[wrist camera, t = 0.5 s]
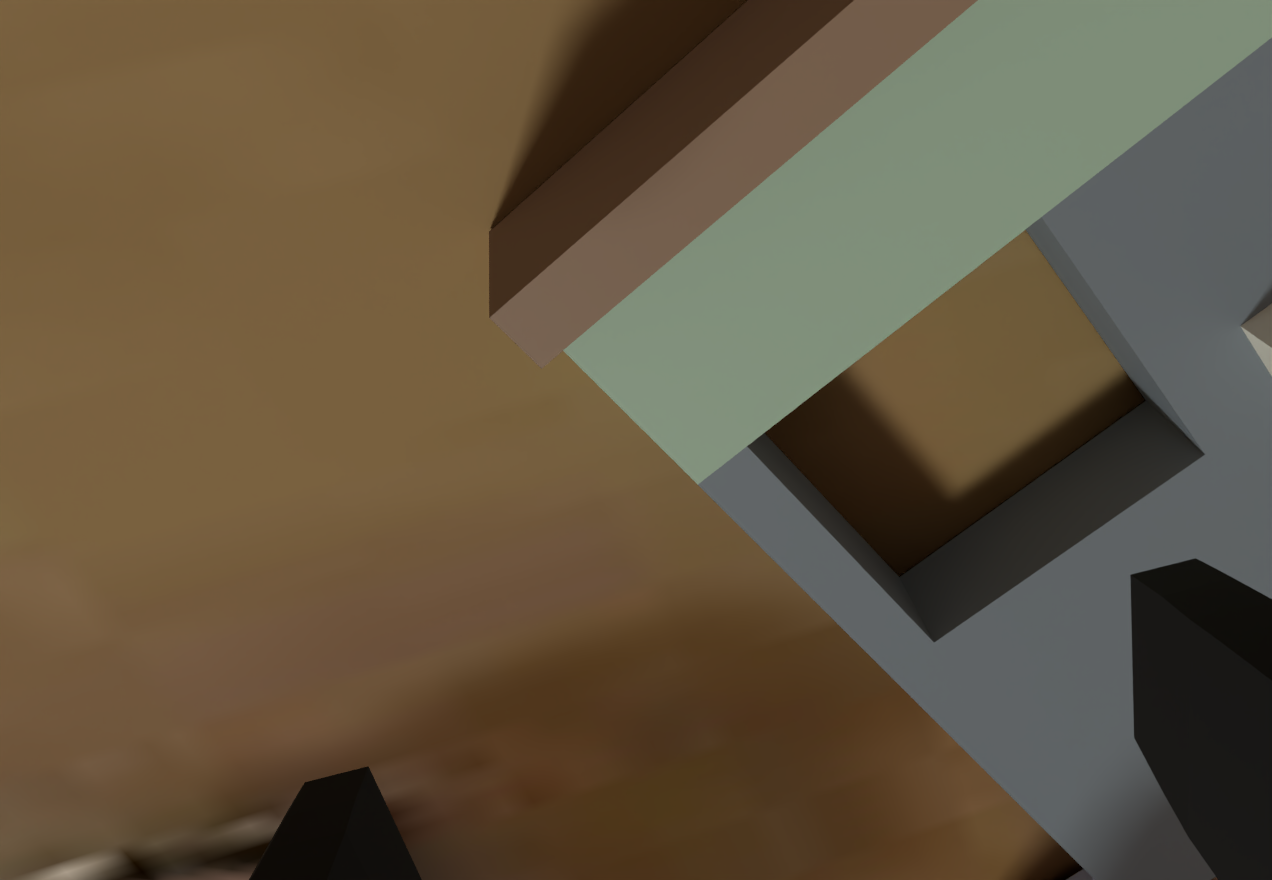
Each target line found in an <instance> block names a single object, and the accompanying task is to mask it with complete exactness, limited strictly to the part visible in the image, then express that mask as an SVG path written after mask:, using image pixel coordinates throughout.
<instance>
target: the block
mask: <svg viewBox="0 0 1272 880" xmlns="http://www.w3.org/2000/svg"><path fill="white" fill-rule="evenodd" d="M1241 328H1242V330H1243V331H1244V333H1245V334H1246V336H1247V338H1248V339H1249V341H1250V342H1251V344H1252V346H1253V347H1254V349H1255V350H1256V352H1257V354H1258V355H1259V357H1260V358H1261V360H1262V362H1263V363H1264V365H1265V366H1266V368H1267V370H1268V371H1269V373H1270V374H1271V376H1272V304H1270V305H1269V306H1268V307H1266V308H1265V309H1263V310H1262V311H1261V312H1259V313H1258V314H1256V315H1255V316H1254V317H1252V318H1251V319H1250V320H1248V321H1247V322H1245V323H1244V324H1243V325H1241Z"/></svg>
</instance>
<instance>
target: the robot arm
mask: <svg viewBox="0 0 1272 880" xmlns="http://www.w3.org/2000/svg"><path fill="white" fill-rule="evenodd" d="M1130 579H1131V624H1132V669H1133V714H1134V739H1135V740H1136V742H1137V744H1138V746H1139V748H1140V750H1141V752H1142V754H1143V756H1144V757H1145V759H1146V761H1147V763H1148V765H1149V767H1150V769H1151V771H1152V772H1153V774H1154V776H1155V778H1156V780H1157V782H1158V784H1159V786H1160V788H1161V789H1162V791H1163V793H1164V795H1165V797H1166V798H1167V800H1168V802H1169V804H1170V806H1171V807H1172V809H1173V811H1174V813H1175V814H1176V816H1177V818H1178V820H1179V821H1180V823H1181V825H1182V827H1183V829H1184V830H1185V832H1186V834H1187V836H1188V837H1189V839H1190V840H1191V842H1192V843H1193V844H1194V846H1195V847H1196V849H1197V850H1198V852H1199V853H1200V855H1201V856H1202V857H1203V859H1204V860H1205V862H1206V863H1207V865H1208V866H1209V867H1210V869H1211V870H1212V872H1213V873H1214V874H1215V876H1216V877H1217V879H1218V880H1272V599H1271V598H1269V597H1267V596H1265V595H1263V594H1262V593H1260V592H1258V591H1256V590H1254V589H1252V588H1251V587H1249V586H1247V585H1245V584H1243V583H1242V582H1240V581H1238V580H1236V579H1234V578H1232V577H1231V576H1229V575H1227V574H1225V573H1223V572H1221V571H1219V570H1218V569H1216V568H1214V567H1212V566H1210V565H1208V564H1206V563H1204V562H1202V561H1200V560H1198V559H1196V558H1195V559H1191V560H1187V561H1183V562H1179V563H1175V564H1171V565H1167V566H1163V567H1159V568H1155V569H1151V570H1147V571H1143V572H1139V573H1135V574H1131V575H1130ZM249 880H421V877H420V875H419V873H418V871H417V869H416V867H415V865H414V863H413V860H412V858H411V856H410V854H409V852H408V850H407V848H406V845H405V843H404V841H403V839H402V837H401V835H400V833H399V831H398V828H397V826H396V824H395V822H394V820H393V818H392V816H391V814H390V811H389V809H388V807H387V805H386V803H385V801H384V799H383V796H382V794H381V792H380V790H379V788H378V786H377V784H376V782H375V779H374V777H373V775H372V773H371V771H370V769H369V767H364V768H360V769H356V770H352V771H348V772H344V773H340V774H336V775H332V776H328V777H325V778H321V779H317V780H313V781H309V782H305V783H304V785H303V786H302V788H301V790H300V791H299V793H298V794H297V796H296V798H295V799H294V801H293V803H292V805H291V806H290V808H289V810H288V811H287V813H286V815H285V817H284V818H283V820H282V822H281V824H280V825H279V827H278V829H277V831H276V833H275V834H274V836H273V838H272V840H271V841H270V843H269V845H268V847H267V849H266V850H265V852H264V854H263V856H262V858H261V859H260V861H259V863H258V865H257V866H256V868H255V870H254V872H253V874H252V875H251V877H250V879H249ZM1066 880H1094V879H1093V878H1092V877H1091V876H1090V875H1089V874H1088V873H1087V872H1086V871H1085V870H1084V869H1082V870H1081V871H1079V872H1077V873H1076V874H1074V875H1073V876H1071V877H1069V878H1068V879H1066Z"/></svg>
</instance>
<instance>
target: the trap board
mask: <svg viewBox="0 0 1272 880" xmlns="http://www.w3.org/2000/svg"><path fill="white" fill-rule="evenodd" d="M1025 229H1026V231H1027V232H1028V234H1029V235H1030V237H1031V238H1032V239H1033V241H1034V242H1035V244H1036V245H1037V246H1038V248H1039V249H1040V251H1041V252H1042V254H1043V255H1044V256H1045V258H1046V259H1047V261H1048V262H1049V264H1050V265H1051V266H1052V268H1053V269H1054V271H1055V272H1056V274H1057V275H1058V276H1059V278H1060V279H1061V281H1062V282H1063V283H1064V285H1065V286H1066V288H1067V289H1068V291H1069V292H1070V293H1071V295H1072V296H1073V298H1074V299H1075V301H1076V302H1077V303H1078V305H1079V306H1080V308H1081V309H1082V311H1083V312H1084V313H1085V315H1086V316H1087V318H1088V319H1089V320H1090V322H1091V323H1092V325H1093V326H1094V328H1095V329H1096V330H1097V332H1098V333H1099V335H1100V336H1101V338H1102V339H1103V340H1104V342H1105V343H1106V345H1107V346H1108V348H1109V349H1110V350H1111V352H1112V353H1113V355H1114V356H1115V357H1116V359H1117V360H1118V362H1119V363H1120V365H1121V366H1122V367H1123V369H1124V370H1125V372H1126V373H1127V375H1128V376H1129V377H1130V379H1131V380H1132V382H1133V383H1134V384H1135V386H1136V387H1137V389H1138V390H1139V392H1140V393H1141V394H1142V396H1143V397H1144V399H1145V400H1146V401H1145V402H1143V403H1142V404H1140V405H1139V406H1138V407H1136V408H1135V409H1134V410H1132V411H1131V412H1129V413H1128V414H1127V415H1125V416H1124V417H1122V418H1121V419H1120V420H1118V421H1117V422H1115V423H1114V424H1113V425H1111V426H1110V427H1108V428H1107V429H1106V430H1104V431H1103V432H1101V433H1100V434H1099V435H1097V436H1096V437H1094V438H1093V439H1092V440H1090V441H1089V442H1087V443H1086V444H1085V445H1083V446H1082V447H1080V448H1079V449H1078V450H1076V451H1075V452H1073V453H1072V454H1071V455H1069V456H1068V457H1067V458H1065V459H1064V460H1062V461H1061V462H1060V463H1058V464H1057V465H1055V466H1054V467H1053V468H1051V469H1050V470H1048V471H1047V472H1046V473H1044V474H1043V475H1041V476H1040V477H1039V478H1037V479H1036V480H1034V481H1033V482H1032V483H1030V484H1029V485H1027V486H1026V487H1025V488H1023V489H1022V490H1020V491H1019V492H1018V493H1016V494H1015V495H1013V496H1012V497H1011V498H1009V499H1008V500H1006V501H1005V502H1004V503H1002V504H1001V505H1000V506H998V507H997V508H995V509H994V510H993V511H991V512H990V513H988V514H987V515H986V516H984V517H983V518H981V519H980V520H979V521H977V522H976V523H974V524H973V525H972V526H970V527H969V528H967V529H966V530H965V531H963V532H962V533H960V534H959V535H958V536H956V537H955V538H953V539H952V540H951V541H949V542H948V543H946V544H945V545H944V546H942V547H941V548H939V549H938V550H937V551H935V552H934V553H933V554H931V555H930V556H928V557H927V558H926V559H924V560H923V561H921V562H920V563H919V564H917V565H916V566H914V567H913V568H912V569H910V570H909V571H907V572H906V573H905V574H903V575H902V576H900V577H899V576H898V575H897V574H896V573H895V572H894V571H893V570H892V569H891V568H890V567H889V566H888V565H887V564H886V562H885V561H884V560H883V559H882V558H881V557H880V556H879V555H878V554H877V553H876V552H875V551H874V550H873V549H872V548H871V546H870V545H869V544H868V543H867V542H866V541H865V540H864V539H863V538H862V537H861V536H860V535H859V534H858V533H857V532H856V530H855V529H854V528H853V527H852V526H851V525H850V524H849V523H848V522H847V521H846V520H845V519H844V518H843V517H842V515H841V514H840V513H839V512H838V511H837V510H836V509H835V508H834V507H833V506H832V505H831V504H830V503H829V502H828V501H827V499H826V498H825V497H824V496H823V495H822V494H821V493H820V492H819V491H818V490H817V489H816V488H815V487H814V486H813V485H812V483H811V482H810V481H809V480H808V479H807V478H806V477H805V476H804V475H803V474H802V473H801V472H800V471H799V470H798V468H797V467H796V466H795V465H794V464H793V463H792V462H791V461H790V460H789V459H788V458H787V457H786V456H785V455H784V454H783V452H782V451H781V450H780V449H779V448H778V447H777V446H776V445H775V444H774V443H773V442H772V441H771V440H770V439H769V437H768V436H767V435H766V434H765V432H766V431H767V430H769V429H770V428H771V427H772V426H774V425H775V424H776V423H778V422H779V421H780V420H781V419H783V418H784V417H785V416H787V415H788V414H789V413H790V412H792V411H793V410H794V409H796V408H797V407H798V406H799V405H801V404H802V403H803V402H805V401H806V400H807V399H808V398H810V397H811V396H812V395H814V394H815V393H816V392H817V391H819V390H820V389H821V388H823V387H824V386H825V385H826V384H828V383H829V382H830V381H831V380H833V379H834V378H835V377H837V376H838V375H839V374H840V373H842V372H843V371H844V370H846V369H847V368H848V367H849V366H851V365H852V364H853V363H855V362H856V361H857V360H858V359H860V358H861V357H862V356H864V355H865V354H866V353H867V352H869V351H870V350H871V349H873V348H874V347H875V346H876V345H878V344H879V343H880V342H882V341H883V340H884V339H885V338H887V337H888V336H889V335H891V334H892V333H893V332H894V331H896V330H897V329H898V328H900V327H901V326H902V325H903V324H905V323H906V322H907V321H909V320H910V319H911V318H912V317H914V316H915V315H916V314H918V313H919V312H920V311H921V310H923V309H924V308H925V307H926V306H928V305H929V304H930V303H932V302H933V301H934V300H935V299H937V298H938V297H939V296H941V295H942V294H943V293H944V292H946V291H947V290H948V289H950V288H951V287H952V286H953V285H955V284H956V283H957V282H959V281H960V280H961V279H962V278H964V277H965V276H966V275H968V274H969V273H970V272H971V271H973V270H974V269H975V268H977V267H978V266H979V265H980V264H982V263H983V262H984V261H986V260H987V259H988V258H989V257H991V256H992V255H993V254H995V253H996V252H997V251H998V250H1000V249H1001V248H1002V247H1004V246H1005V245H1006V244H1007V243H1009V242H1010V241H1011V240H1013V239H1014V238H1015V237H1016V236H1018V235H1019V234H1020V233H1022V232H1023V231H1024V230H1025ZM1270 304H1272V0H748V1H747V2H745V3H744V4H743V5H742V6H741V7H740V8H739V9H738V10H736V11H735V12H734V13H733V14H732V15H731V16H730V17H729V18H728V19H726V20H725V21H724V22H723V23H722V24H721V25H720V26H719V27H717V28H716V29H715V30H714V31H713V32H712V33H711V34H710V35H708V36H707V37H706V38H705V39H704V40H703V41H702V42H701V43H700V44H698V45H697V46H696V47H695V48H694V49H693V50H692V51H691V52H689V53H688V54H687V55H686V56H685V57H684V58H683V59H682V60H681V61H679V62H678V63H677V64H676V65H675V66H674V67H673V68H672V69H670V70H669V71H668V72H667V73H666V74H665V75H664V76H663V77H662V78H660V79H659V80H658V81H657V82H656V83H655V84H654V85H653V86H651V87H650V88H649V89H648V90H647V91H646V92H645V93H644V94H643V95H641V96H640V97H639V98H638V99H637V100H636V101H635V102H634V103H632V104H631V105H630V106H629V107H628V108H627V109H626V110H625V111H624V112H622V113H621V114H620V115H619V116H618V117H617V118H616V119H615V120H613V121H612V122H611V123H610V124H609V125H608V126H607V127H606V128H605V129H603V130H602V131H601V132H600V133H599V134H598V135H597V136H596V137H594V138H593V139H592V140H591V141H590V142H589V143H588V144H587V145H586V146H584V147H583V148H582V149H581V150H580V151H579V152H578V153H577V154H575V155H574V156H573V157H572V158H571V159H570V160H569V161H568V162H567V163H565V164H564V165H563V166H562V167H561V168H560V169H559V170H558V171H556V172H555V173H554V174H553V175H552V176H551V177H550V178H549V179H548V180H546V181H545V182H544V183H543V184H542V185H541V186H540V187H539V188H537V189H536V190H535V191H534V192H533V193H532V194H531V195H530V196H529V197H527V198H526V199H525V200H524V201H523V202H522V203H521V204H520V205H518V206H517V207H516V208H515V209H514V210H513V211H512V212H511V213H510V214H508V215H507V216H506V217H505V218H504V219H503V220H502V221H501V222H499V223H498V224H497V225H496V226H495V227H494V228H493V229H492V230H491V231H489V318H490V319H491V320H492V321H493V322H494V323H495V324H496V325H497V326H498V327H499V328H500V329H501V330H502V331H503V332H505V333H506V334H507V335H508V336H509V337H510V338H511V339H512V340H513V341H514V342H515V343H516V344H517V345H518V346H519V347H520V348H521V349H522V350H523V351H524V352H525V353H526V354H527V355H528V356H529V357H530V358H531V359H532V360H533V361H534V362H535V363H536V364H537V365H538V366H539V367H540V368H541V369H542V368H543V367H544V366H545V365H546V364H548V363H549V362H550V361H551V360H552V359H553V358H555V357H556V356H557V355H558V354H559V353H561V352H562V351H564V352H565V353H566V354H567V355H568V356H569V357H570V358H571V359H572V360H573V361H574V362H575V363H576V364H577V365H578V366H579V367H580V368H581V369H582V370H583V371H584V372H585V373H586V374H587V375H588V376H589V377H590V378H591V379H592V380H593V381H594V382H595V383H596V384H597V385H598V386H599V387H600V388H601V389H602V390H603V391H604V392H605V393H606V394H607V395H608V396H609V397H610V398H611V399H612V400H613V401H614V402H615V403H616V404H617V405H618V406H619V407H620V408H621V409H622V410H623V411H624V412H625V413H626V414H627V415H628V416H629V417H630V418H631V419H632V420H633V421H634V422H635V423H636V424H637V425H638V426H639V427H641V428H642V429H643V430H644V431H645V432H646V433H647V434H648V435H649V436H650V437H651V438H652V439H653V440H654V441H655V442H656V443H657V444H658V445H659V446H660V447H661V448H662V449H663V450H664V451H665V452H666V453H667V454H668V455H669V456H670V457H671V458H672V459H673V460H674V461H675V462H676V463H677V464H678V465H679V466H680V467H681V468H682V469H683V470H684V471H685V472H686V473H687V474H688V475H689V476H690V477H691V478H692V479H693V480H694V481H695V482H696V483H697V484H698V485H699V486H700V487H701V488H702V489H703V490H704V491H705V492H706V493H707V494H708V495H709V496H710V497H711V498H712V499H713V500H714V501H715V502H716V503H717V504H718V505H719V506H720V507H721V508H722V509H723V510H724V511H725V512H726V513H727V514H728V515H729V516H730V517H731V518H732V519H733V520H734V521H735V522H736V523H737V524H738V525H739V526H740V527H741V528H742V529H743V530H744V531H745V532H746V533H747V534H748V535H749V536H750V537H751V538H752V539H753V540H754V541H755V542H756V543H757V544H758V545H759V546H760V547H761V548H762V549H763V550H764V551H765V552H766V553H767V554H768V555H769V556H770V557H771V558H772V559H773V560H774V561H775V562H776V563H777V564H778V565H779V566H780V567H781V568H782V569H783V570H784V571H785V572H786V573H787V574H788V575H789V576H790V577H791V578H792V579H793V580H794V581H795V582H796V583H797V584H798V585H799V586H800V587H801V588H802V589H803V590H804V591H805V592H806V593H807V594H808V595H809V596H810V597H811V598H812V599H813V600H814V601H815V602H816V603H817V604H818V605H819V606H820V607H821V608H822V609H823V610H824V611H825V612H826V613H827V614H828V615H829V616H830V617H831V618H832V619H833V620H834V621H835V622H836V623H837V624H838V625H839V626H840V627H841V628H842V629H843V630H844V631H845V632H846V633H847V634H848V635H849V636H850V637H851V638H852V639H853V640H854V641H855V642H856V643H857V644H858V645H859V646H860V647H861V648H862V649H863V650H864V651H865V652H866V653H868V654H869V655H870V656H871V657H872V658H873V659H874V660H875V661H876V662H877V663H878V664H879V665H880V666H881V667H882V668H883V669H884V670H885V671H886V672H887V673H888V674H889V675H890V676H891V677H892V678H893V679H894V680H895V681H896V682H897V683H898V684H899V685H900V686H901V687H902V688H903V689H904V690H905V691H906V692H907V693H908V694H909V695H910V696H911V697H912V698H913V699H914V700H915V701H916V702H917V703H918V704H919V705H920V706H921V707H922V708H923V709H924V710H925V711H926V712H927V713H928V714H929V715H930V716H931V717H932V718H933V719H934V720H935V721H936V722H937V723H938V724H939V725H940V726H941V727H942V728H943V729H944V730H945V731H946V732H947V733H948V734H949V735H950V736H951V737H952V738H953V739H954V740H955V741H956V742H957V743H958V744H959V745H960V746H961V747H962V748H963V749H964V750H965V751H966V752H967V753H968V754H969V755H970V756H971V757H972V758H973V759H974V760H975V761H976V762H977V763H978V764H979V765H980V766H981V767H982V768H983V769H984V770H985V771H986V772H987V773H988V774H989V775H990V776H991V777H992V778H993V779H994V780H995V781H996V782H997V783H998V784H999V785H1000V786H1001V787H1002V788H1003V789H1004V790H1005V791H1006V792H1007V793H1008V794H1009V795H1010V796H1011V797H1012V798H1013V799H1014V800H1015V801H1016V802H1017V803H1018V804H1019V805H1020V806H1021V807H1022V808H1023V809H1024V810H1025V811H1026V812H1027V813H1028V814H1029V815H1030V816H1031V817H1032V818H1033V819H1034V820H1035V821H1036V822H1037V823H1038V824H1039V825H1040V826H1041V827H1042V828H1043V829H1044V830H1045V831H1046V832H1047V833H1048V834H1049V835H1050V836H1051V837H1052V838H1053V839H1054V840H1055V841H1056V842H1057V843H1058V844H1059V845H1060V846H1061V847H1062V848H1063V849H1064V850H1065V851H1066V852H1067V853H1068V854H1069V855H1070V856H1071V857H1072V858H1073V859H1074V860H1075V861H1076V862H1077V863H1078V864H1079V865H1080V866H1081V867H1082V868H1083V869H1084V870H1085V871H1086V872H1087V873H1088V874H1089V875H1090V876H1091V877H1092V878H1093V879H1094V880H1211V879H1213V878H1215V877H1216V876H1215V874H1214V873H1213V872H1212V870H1211V869H1210V867H1209V866H1208V865H1207V863H1206V862H1205V860H1204V859H1203V857H1202V856H1201V855H1200V853H1199V852H1198V850H1197V849H1196V847H1195V846H1194V844H1193V843H1192V842H1191V840H1190V839H1189V837H1188V836H1187V834H1186V832H1185V830H1184V829H1183V827H1182V825H1181V823H1180V821H1179V820H1178V818H1177V816H1176V814H1175V813H1174V811H1173V809H1172V807H1171V806H1170V804H1169V802H1168V800H1167V798H1166V797H1165V795H1164V793H1163V791H1162V789H1161V788H1160V786H1159V784H1158V782H1157V780H1156V778H1155V776H1154V774H1153V772H1152V771H1151V769H1150V767H1149V765H1148V763H1147V761H1146V759H1145V757H1144V756H1143V754H1142V752H1141V750H1140V748H1139V746H1138V744H1137V742H1136V740H1135V739H1134V714H1133V669H1132V624H1131V579H1130V575H1131V574H1135V573H1139V572H1143V571H1147V570H1151V569H1155V568H1159V567H1163V566H1167V565H1171V564H1175V563H1179V562H1183V561H1187V560H1191V559H1195V558H1196V559H1198V560H1200V561H1202V562H1204V563H1206V564H1208V565H1210V566H1212V567H1214V568H1216V569H1218V570H1219V571H1221V572H1223V573H1225V574H1227V575H1229V576H1231V577H1232V578H1234V579H1236V580H1238V581H1240V582H1242V583H1243V584H1245V585H1247V586H1249V587H1251V588H1252V589H1254V590H1256V591H1258V592H1260V593H1262V594H1263V595H1265V596H1267V597H1269V598H1271V599H1272V376H1271V374H1270V373H1269V371H1268V370H1267V368H1266V366H1265V365H1264V363H1263V362H1262V360H1261V358H1260V357H1259V355H1258V354H1257V352H1256V350H1255V349H1254V347H1253V346H1252V344H1251V342H1250V341H1249V339H1248V338H1247V336H1246V334H1245V333H1244V331H1243V330H1242V328H1241V325H1243V324H1244V323H1245V322H1247V321H1248V320H1250V319H1251V318H1252V317H1254V316H1255V315H1256V314H1258V313H1259V312H1261V311H1262V310H1263V309H1265V308H1266V307H1268V306H1269V305H1270Z"/></svg>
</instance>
